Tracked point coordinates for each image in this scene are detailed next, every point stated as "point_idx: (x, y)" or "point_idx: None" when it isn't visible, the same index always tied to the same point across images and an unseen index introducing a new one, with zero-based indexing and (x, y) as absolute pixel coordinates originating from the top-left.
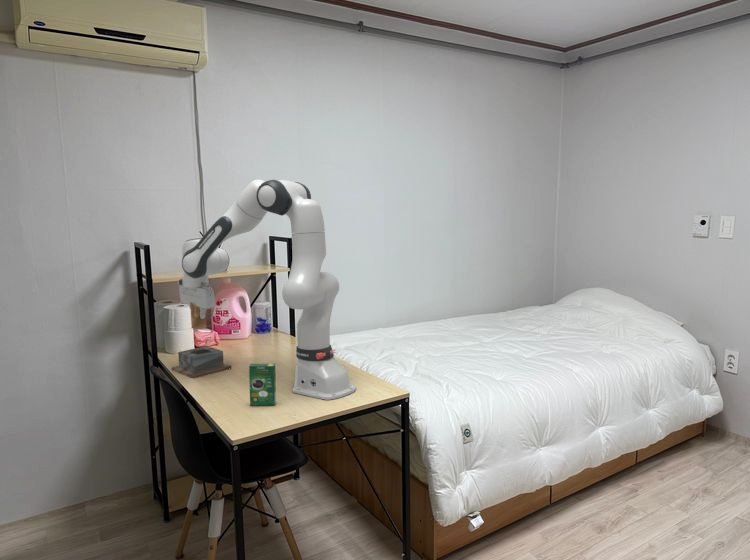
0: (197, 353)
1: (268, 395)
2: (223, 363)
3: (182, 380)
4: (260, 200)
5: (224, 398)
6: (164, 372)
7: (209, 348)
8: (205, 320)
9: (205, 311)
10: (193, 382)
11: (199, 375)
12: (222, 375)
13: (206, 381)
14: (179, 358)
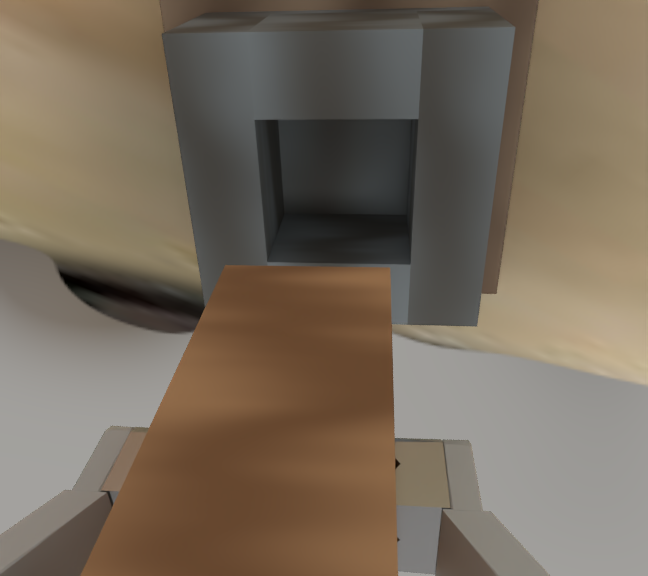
0: (266, 177)
1: None
2: (491, 10)
3: (467, 333)
4: None
5: None
6: None
7: (291, 73)
8: (391, 353)
9: (534, 571)
10: (563, 313)
11: (500, 244)
12: (626, 115)
13: (626, 257)
14: None
